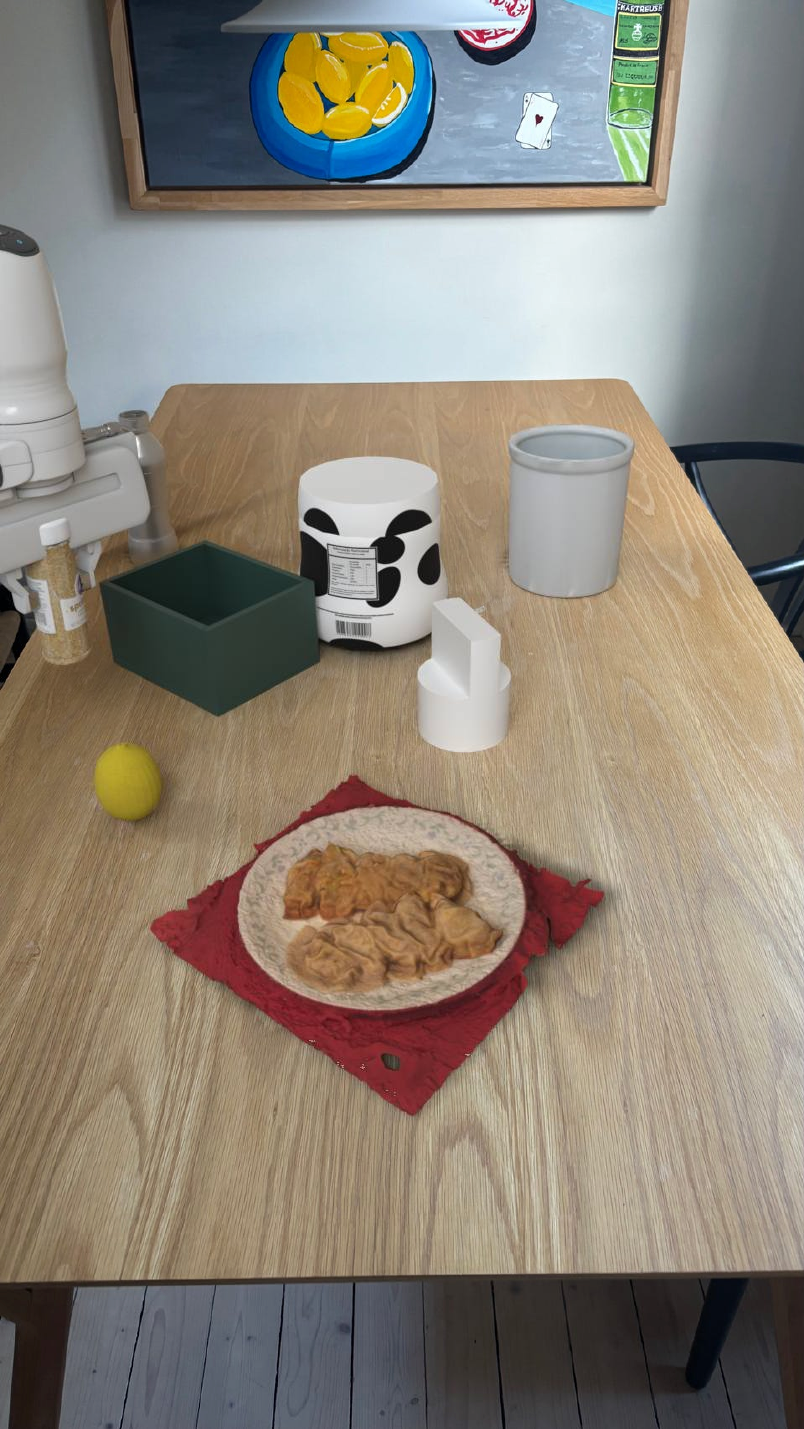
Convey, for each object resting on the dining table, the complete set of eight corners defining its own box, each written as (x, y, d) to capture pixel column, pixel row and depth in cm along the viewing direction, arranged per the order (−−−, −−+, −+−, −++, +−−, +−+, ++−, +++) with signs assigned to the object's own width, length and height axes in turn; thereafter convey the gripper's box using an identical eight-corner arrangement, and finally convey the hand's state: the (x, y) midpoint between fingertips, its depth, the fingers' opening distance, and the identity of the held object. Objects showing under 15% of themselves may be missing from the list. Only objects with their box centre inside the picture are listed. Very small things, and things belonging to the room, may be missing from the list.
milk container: (407, 585, 129) (406, 444, 120) (474, 643, 116) (478, 491, 106) (277, 613, 123) (265, 467, 113) (332, 678, 110) (323, 520, 100)
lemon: (145, 793, 93) (131, 718, 89) (179, 819, 90) (167, 743, 85) (90, 820, 90) (74, 744, 86) (124, 848, 86) (108, 771, 82)
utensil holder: (485, 561, 135) (489, 429, 126) (587, 546, 139) (599, 417, 130) (531, 608, 123) (540, 466, 114) (641, 590, 127) (658, 452, 118)
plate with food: (354, 790, 93) (352, 759, 91) (604, 906, 79) (606, 872, 77) (148, 942, 78) (140, 908, 76) (411, 1119, 64) (409, 1083, 62)
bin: (113, 662, 114) (98, 581, 108) (214, 616, 123) (205, 539, 118) (218, 717, 104) (207, 631, 98) (319, 662, 113) (314, 580, 108)
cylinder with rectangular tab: (403, 714, 104) (401, 608, 97) (482, 695, 107) (486, 590, 100) (441, 761, 97) (442, 649, 90) (524, 739, 100) (531, 629, 93)
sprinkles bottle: (98, 661, 93) (73, 520, 85) (46, 671, 91) (16, 528, 84) (88, 638, 96) (64, 502, 89) (38, 648, 94) (9, 510, 87)
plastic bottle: (123, 575, 133) (96, 421, 122) (143, 554, 139) (118, 405, 128) (170, 578, 132) (147, 423, 121) (188, 556, 138) (168, 407, 127)
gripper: (110, 409, 91) (131, 553, 99) (-114, 467, 78) (-70, 628, 86) (154, 424, 88) (173, 571, 95) (-72, 486, 75) (-30, 652, 82)
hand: (56, 599), depth 90 cm, fingers closed on sprinkles bottle, 4 cm apart
